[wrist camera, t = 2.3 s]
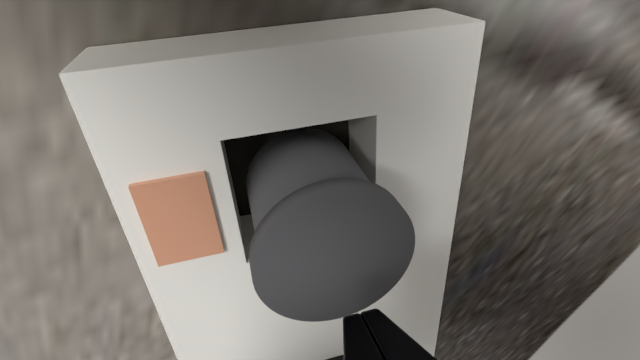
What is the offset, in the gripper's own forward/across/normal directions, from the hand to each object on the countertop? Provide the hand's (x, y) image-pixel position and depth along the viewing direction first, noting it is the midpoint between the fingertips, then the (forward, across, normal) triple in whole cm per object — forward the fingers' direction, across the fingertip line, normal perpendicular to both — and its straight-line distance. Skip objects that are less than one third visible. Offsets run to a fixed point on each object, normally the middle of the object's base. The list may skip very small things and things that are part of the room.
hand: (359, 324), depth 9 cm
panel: (+8, 0, +6) cm, 10 cm away
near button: (+6, 0, 0) cm, 6 cm away
